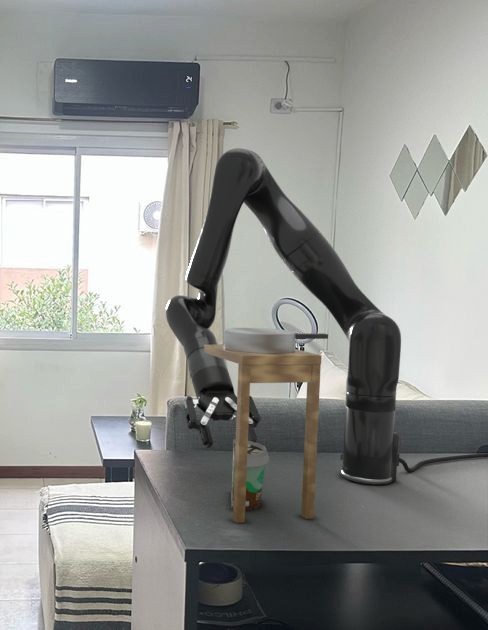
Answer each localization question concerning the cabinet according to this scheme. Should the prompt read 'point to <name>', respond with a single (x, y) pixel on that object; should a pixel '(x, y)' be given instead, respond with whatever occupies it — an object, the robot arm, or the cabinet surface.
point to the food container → (252, 474)
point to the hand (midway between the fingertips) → (231, 445)
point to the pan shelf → (271, 367)
